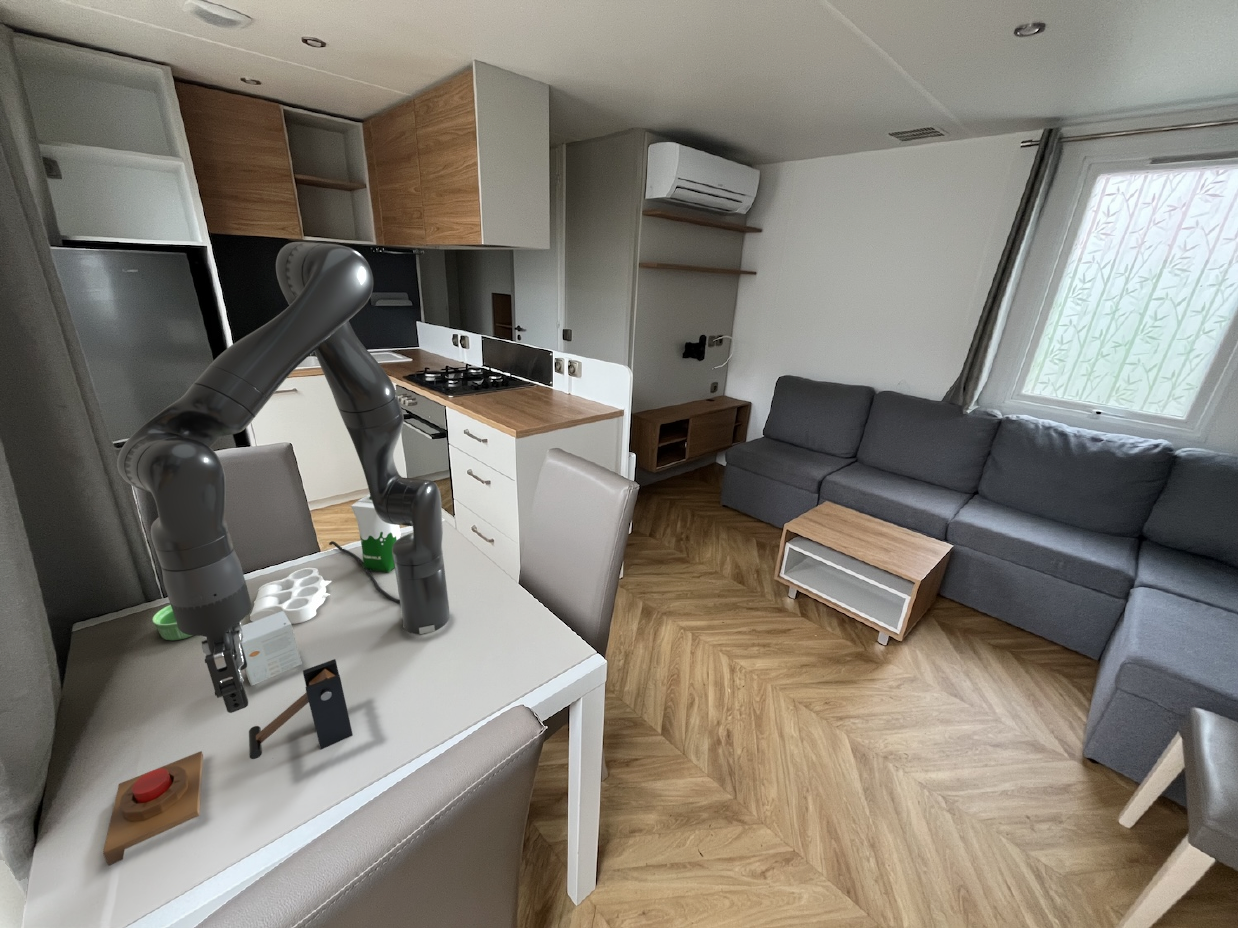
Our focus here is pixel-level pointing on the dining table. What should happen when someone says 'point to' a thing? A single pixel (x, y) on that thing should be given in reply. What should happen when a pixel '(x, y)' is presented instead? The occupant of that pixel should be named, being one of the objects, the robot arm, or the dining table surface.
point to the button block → (154, 808)
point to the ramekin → (168, 625)
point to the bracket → (328, 705)
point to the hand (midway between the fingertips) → (238, 687)
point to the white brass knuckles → (292, 596)
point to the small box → (269, 647)
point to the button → (151, 785)
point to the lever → (280, 719)
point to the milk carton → (375, 536)
